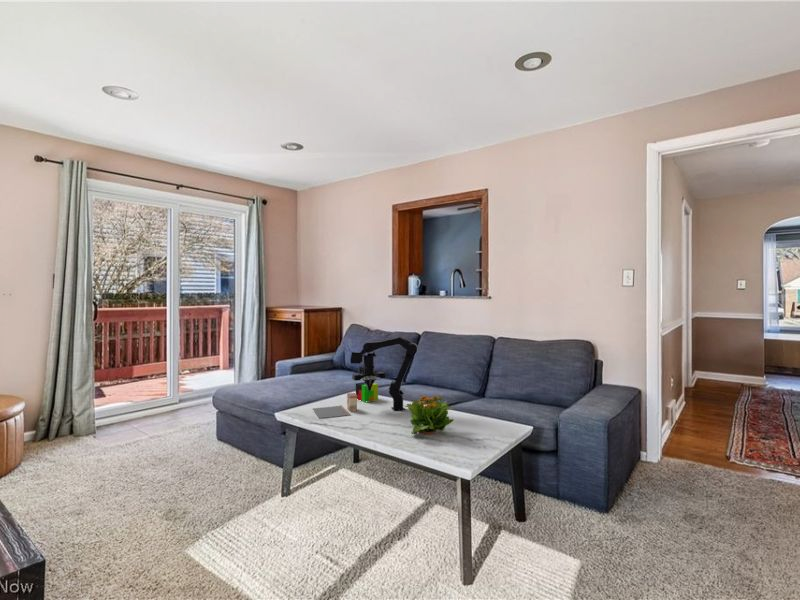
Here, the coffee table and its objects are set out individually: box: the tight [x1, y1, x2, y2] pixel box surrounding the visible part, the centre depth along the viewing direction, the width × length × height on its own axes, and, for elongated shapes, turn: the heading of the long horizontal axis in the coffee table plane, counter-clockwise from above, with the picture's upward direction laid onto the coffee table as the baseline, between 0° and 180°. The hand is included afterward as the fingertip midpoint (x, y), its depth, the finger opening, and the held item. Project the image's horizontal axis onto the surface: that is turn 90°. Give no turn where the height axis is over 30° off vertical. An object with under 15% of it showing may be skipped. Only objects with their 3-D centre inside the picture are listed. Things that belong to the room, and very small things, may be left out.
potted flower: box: [404, 394, 454, 436], centre depth 201 cm, size 25×24×18 cm
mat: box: [312, 404, 352, 419], centre depth 233 cm, size 20×17×1 cm
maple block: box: [346, 392, 358, 412], centre depth 238 cm, size 6×4×9 cm, turn 22°
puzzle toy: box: [355, 381, 379, 403], centre depth 262 cm, size 10×10×10 cm
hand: (369, 391), depth 241 cm, fingers closed
